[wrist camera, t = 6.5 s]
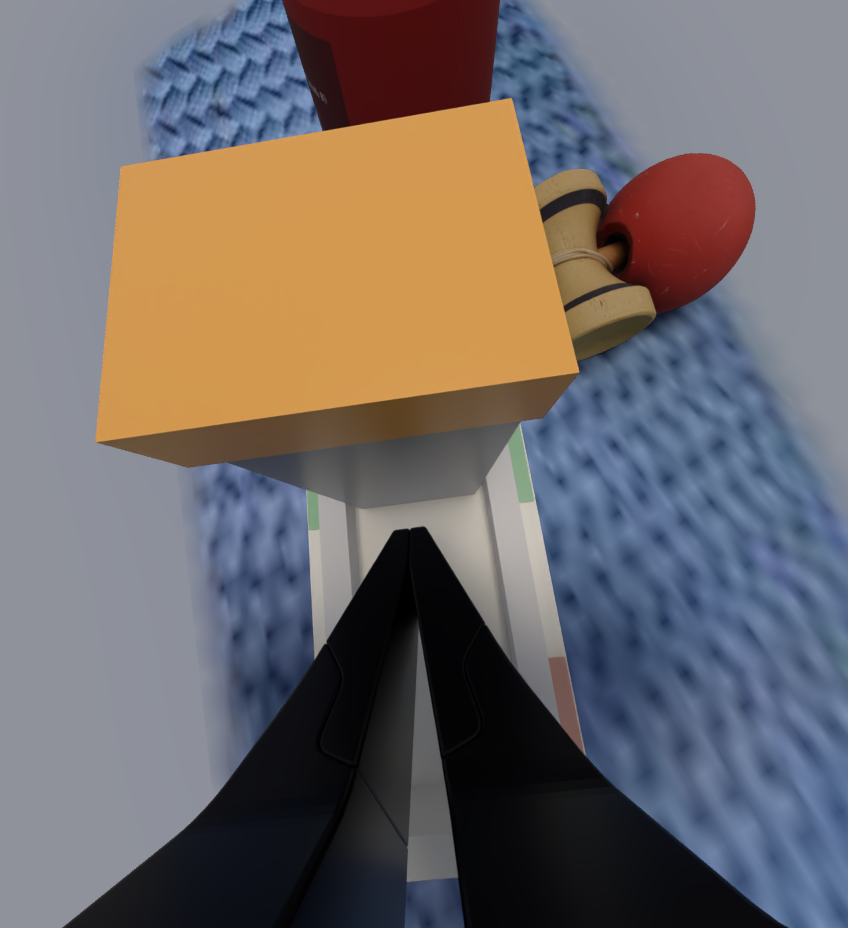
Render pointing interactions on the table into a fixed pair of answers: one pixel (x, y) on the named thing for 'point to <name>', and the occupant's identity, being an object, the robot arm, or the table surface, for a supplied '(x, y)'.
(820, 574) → the table surface
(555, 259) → the kendama
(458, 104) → the canned food
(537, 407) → the handle
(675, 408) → the table surface
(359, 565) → the railed base plate
